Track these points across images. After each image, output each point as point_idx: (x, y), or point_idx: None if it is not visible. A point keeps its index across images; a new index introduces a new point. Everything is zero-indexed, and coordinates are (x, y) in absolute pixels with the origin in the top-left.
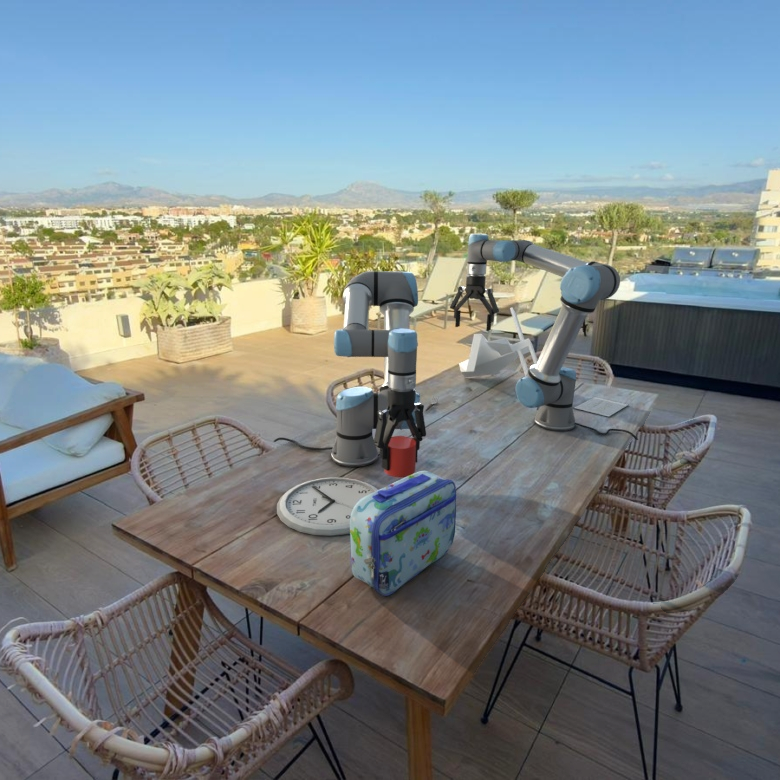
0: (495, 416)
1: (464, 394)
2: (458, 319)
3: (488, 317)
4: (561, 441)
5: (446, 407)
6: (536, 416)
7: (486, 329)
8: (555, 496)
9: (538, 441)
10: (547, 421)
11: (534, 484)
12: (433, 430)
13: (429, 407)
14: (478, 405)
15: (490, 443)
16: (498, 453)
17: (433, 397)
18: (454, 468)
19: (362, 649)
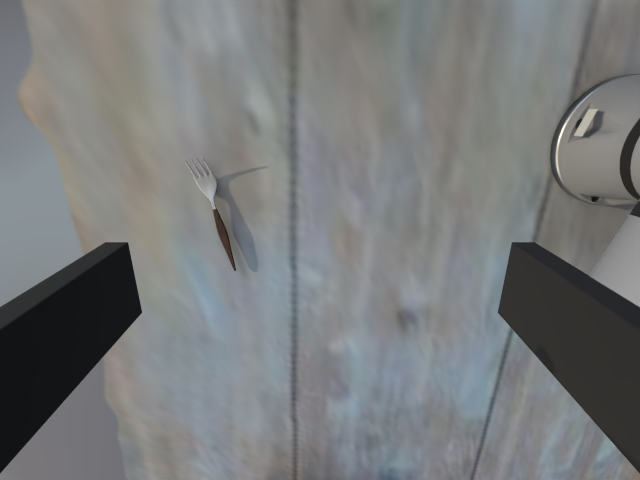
0: (426, 181)
1: (238, 4)
2: (81, 335)
3: (637, 443)
4: None
5: (261, 193)
6: (570, 176)
7: (505, 319)
8: (611, 473)
9: None
10: (606, 198)
11: (576, 458)
12: (320, 360)
13: (228, 244)
14: (341, 108)
15: (465, 356)
16: (493, 390)
17: (188, 165)
18: (435, 473)
19: None
